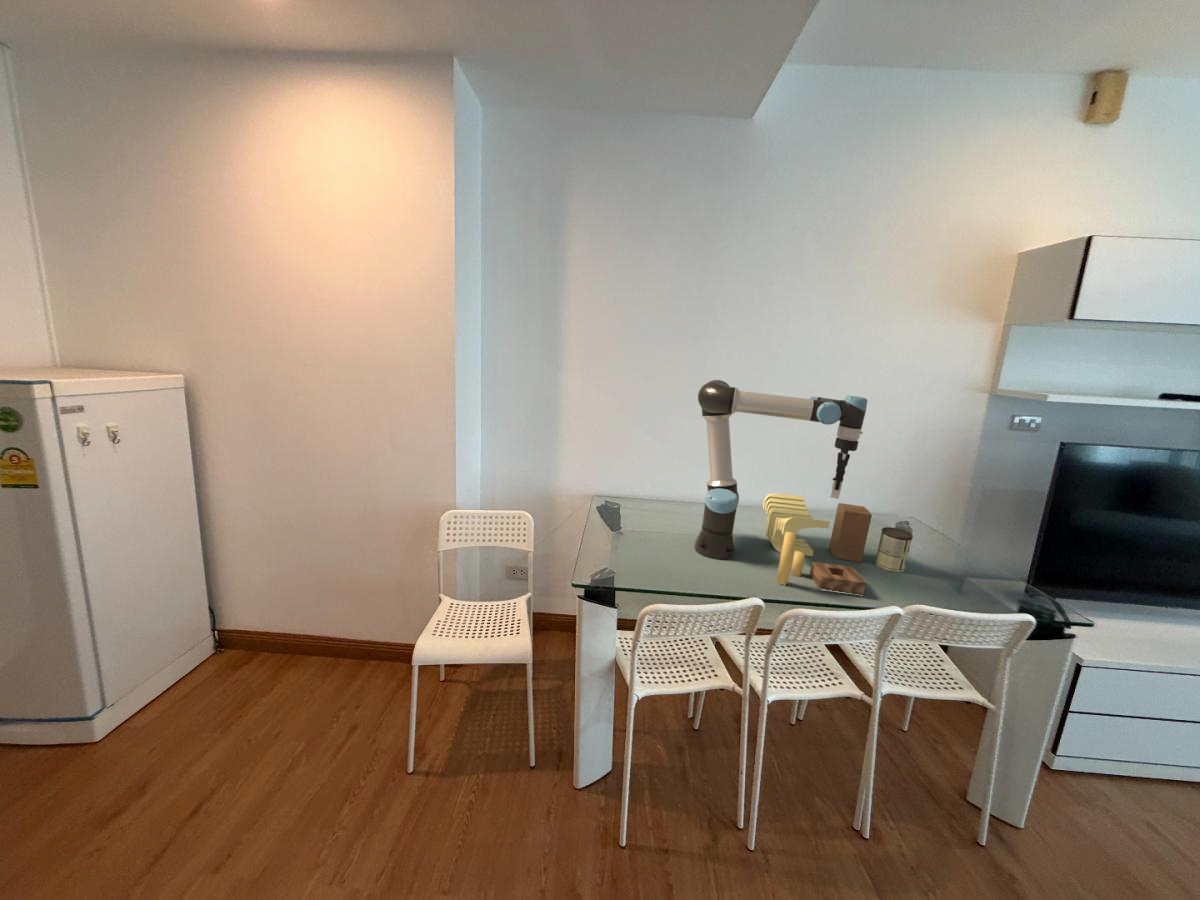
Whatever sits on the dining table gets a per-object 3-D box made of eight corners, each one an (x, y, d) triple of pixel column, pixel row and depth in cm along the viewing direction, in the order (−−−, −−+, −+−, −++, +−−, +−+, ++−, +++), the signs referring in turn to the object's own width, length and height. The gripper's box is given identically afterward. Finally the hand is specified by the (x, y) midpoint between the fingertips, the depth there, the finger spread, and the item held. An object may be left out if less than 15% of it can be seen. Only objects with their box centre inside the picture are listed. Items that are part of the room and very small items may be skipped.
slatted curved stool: (758, 531, 218) (765, 492, 214) (795, 535, 217) (803, 496, 213) (778, 560, 188) (786, 516, 184) (820, 565, 188) (829, 521, 184)
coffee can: (872, 558, 199) (879, 525, 196) (901, 563, 196) (909, 530, 193) (877, 568, 190) (885, 533, 187) (907, 574, 187) (916, 539, 183)
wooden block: (861, 562, 194) (872, 514, 189) (834, 558, 195) (844, 510, 191) (854, 552, 203) (864, 506, 199) (828, 548, 205) (837, 502, 201)
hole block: (819, 590, 167) (822, 577, 166) (809, 574, 179) (812, 561, 178) (863, 596, 166) (866, 582, 165) (849, 579, 178) (852, 567, 177)
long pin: (777, 584, 169) (786, 535, 165) (775, 579, 172) (784, 531, 168) (788, 586, 169) (797, 536, 165) (785, 581, 172) (794, 532, 168)
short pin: (792, 575, 177) (795, 554, 175) (789, 570, 181) (793, 550, 179) (802, 576, 177) (806, 555, 175) (799, 572, 180) (803, 551, 178)
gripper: (859, 445, 170) (845, 504, 174) (858, 435, 192) (846, 488, 196) (835, 441, 173) (822, 499, 178) (837, 432, 195) (825, 484, 200)
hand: (835, 493), depth 187 cm, fingers open, 13 cm apart
